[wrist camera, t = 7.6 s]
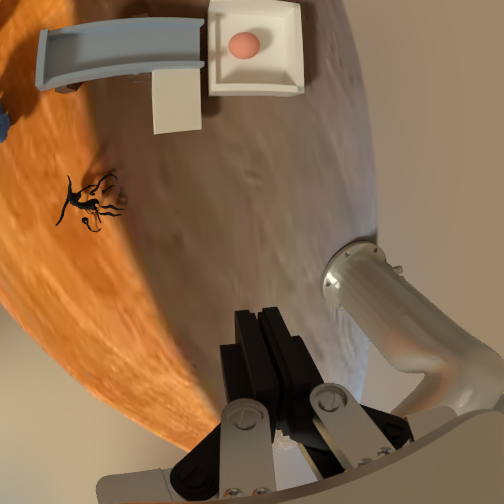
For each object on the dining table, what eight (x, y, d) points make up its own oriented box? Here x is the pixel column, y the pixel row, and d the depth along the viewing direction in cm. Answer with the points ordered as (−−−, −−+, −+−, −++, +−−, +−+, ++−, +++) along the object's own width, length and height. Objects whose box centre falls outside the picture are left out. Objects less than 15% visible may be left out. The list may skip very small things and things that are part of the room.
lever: (194, 26, 22) (207, 15, 20) (196, 129, 28) (209, 128, 25) (44, 41, 14) (40, 29, 12) (44, 157, 20) (38, 159, 17)
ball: (261, 36, 24) (257, 26, 21) (262, 61, 26) (258, 54, 23) (232, 38, 25) (225, 29, 22) (232, 63, 26) (225, 56, 23)
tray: (287, 15, 25) (299, 3, 21) (290, 96, 30) (304, 93, 26) (207, 11, 23) (210, -4, 19) (208, 96, 28) (211, 91, 24)
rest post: (77, 55, 21) (68, 49, 18) (76, 90, 23) (66, 87, 20) (66, 58, 21) (56, 53, 18) (65, 94, 23) (54, 91, 20)
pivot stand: (154, 27, 22) (150, 12, 18) (153, 79, 25) (148, 71, 21) (135, 30, 22) (128, 16, 18) (133, 82, 25) (125, 75, 21)
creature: (132, 178, 31) (75, 160, 26) (133, 191, 27) (67, 170, 22) (113, 233, 33) (60, 218, 29) (112, 253, 29) (51, 236, 25)
